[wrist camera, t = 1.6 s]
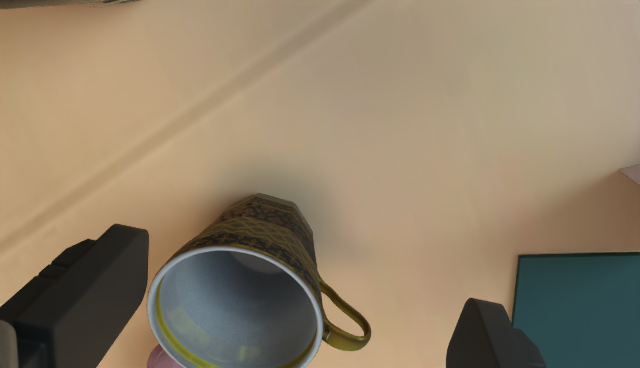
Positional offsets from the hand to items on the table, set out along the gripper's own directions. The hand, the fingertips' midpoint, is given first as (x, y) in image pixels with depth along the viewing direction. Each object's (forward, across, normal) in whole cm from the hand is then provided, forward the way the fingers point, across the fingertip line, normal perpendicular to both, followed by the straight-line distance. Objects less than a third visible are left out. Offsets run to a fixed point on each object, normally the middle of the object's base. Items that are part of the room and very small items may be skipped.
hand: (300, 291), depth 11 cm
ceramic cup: (+20, +2, +11) cm, 23 cm away
